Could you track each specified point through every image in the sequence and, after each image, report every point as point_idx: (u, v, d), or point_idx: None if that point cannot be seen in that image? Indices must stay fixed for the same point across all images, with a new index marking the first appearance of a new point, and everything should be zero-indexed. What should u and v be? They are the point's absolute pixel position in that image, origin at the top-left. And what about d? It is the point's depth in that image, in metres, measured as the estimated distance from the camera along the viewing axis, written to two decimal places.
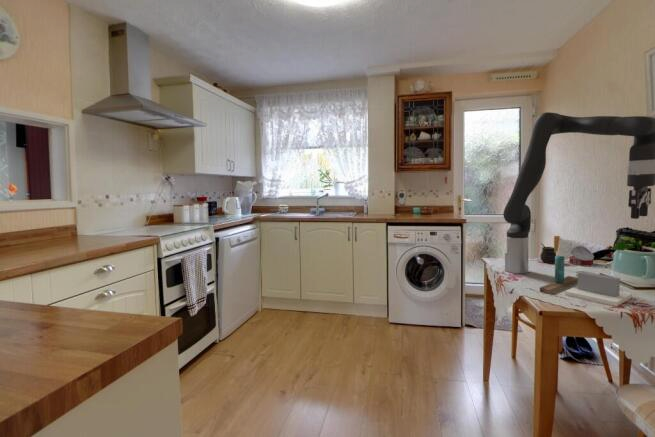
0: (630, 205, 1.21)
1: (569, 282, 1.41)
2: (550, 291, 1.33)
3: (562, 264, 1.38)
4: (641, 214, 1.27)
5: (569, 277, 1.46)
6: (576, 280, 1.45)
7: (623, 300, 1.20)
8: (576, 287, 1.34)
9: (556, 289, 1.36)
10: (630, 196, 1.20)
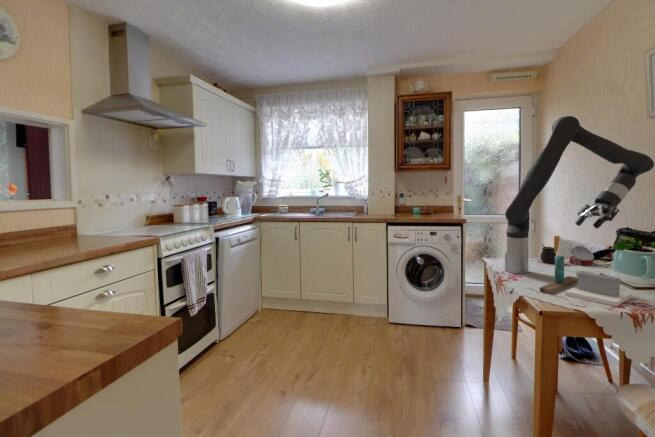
0: (608, 216, 1.32)
1: (569, 282, 1.41)
2: (550, 291, 1.33)
3: (562, 264, 1.38)
4: (578, 222, 1.43)
5: (569, 277, 1.46)
6: (576, 280, 1.45)
7: (623, 300, 1.20)
8: (576, 287, 1.34)
9: (556, 289, 1.36)
10: (613, 210, 1.32)
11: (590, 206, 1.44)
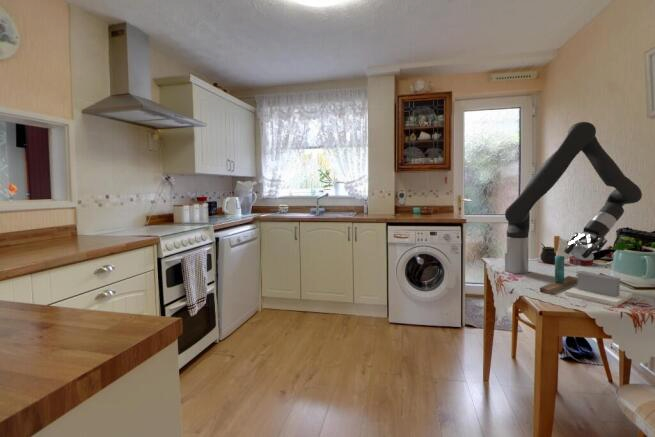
0: (596, 247, 1.33)
1: (569, 282, 1.41)
2: (550, 291, 1.33)
3: (562, 264, 1.38)
4: (567, 251, 1.44)
5: (569, 277, 1.46)
6: (576, 280, 1.45)
7: (623, 300, 1.20)
8: (576, 287, 1.34)
9: (556, 289, 1.36)
10: (601, 241, 1.33)
11: (579, 234, 1.45)
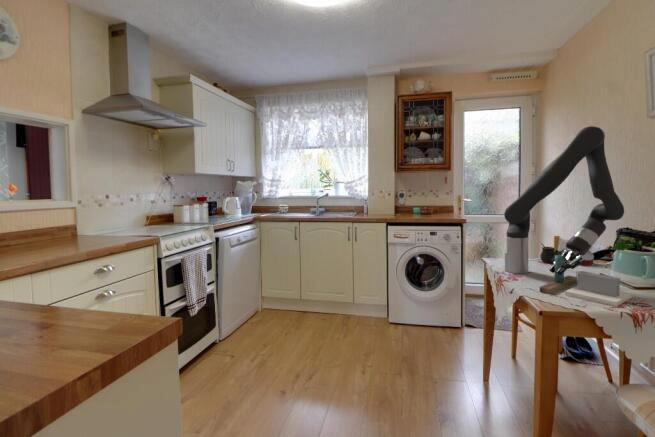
0: (570, 265, 1.35)
1: (569, 281, 1.41)
2: (550, 290, 1.33)
3: (562, 263, 1.38)
4: (552, 269, 1.41)
5: (569, 276, 1.46)
6: (576, 279, 1.45)
7: (623, 300, 1.20)
8: (576, 287, 1.34)
9: (556, 288, 1.36)
10: (577, 260, 1.34)
11: (560, 251, 1.44)
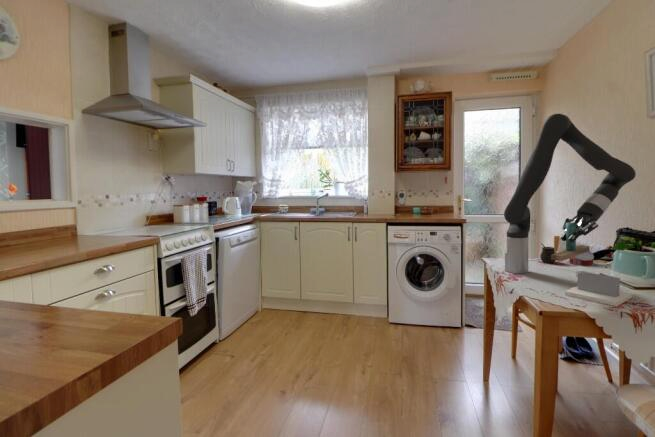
0: (582, 231, 1.30)
1: (581, 250, 1.36)
2: (562, 258, 1.28)
3: (573, 230, 1.33)
4: (563, 238, 1.36)
5: (580, 246, 1.41)
6: (588, 248, 1.39)
7: (623, 300, 1.20)
8: (576, 287, 1.34)
9: (568, 256, 1.30)
10: (590, 226, 1.29)
11: (571, 219, 1.39)
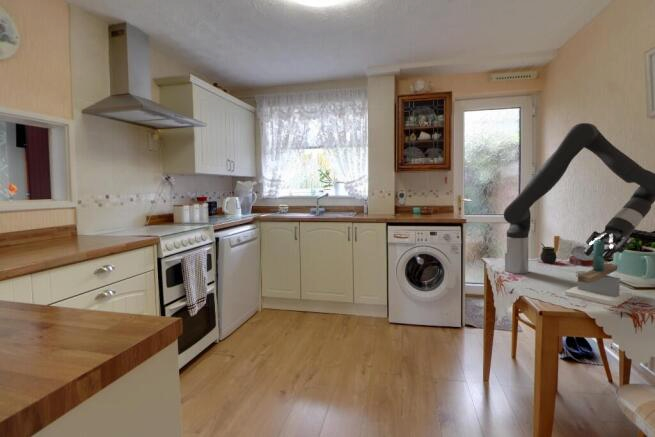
0: (619, 248, 1.19)
1: (609, 270, 1.28)
2: (591, 279, 1.19)
3: (602, 249, 1.24)
4: (587, 252, 1.29)
5: (607, 264, 1.32)
6: (616, 267, 1.31)
7: (623, 300, 1.20)
8: (576, 287, 1.34)
9: (596, 277, 1.22)
10: (625, 241, 1.19)
11: (599, 233, 1.31)
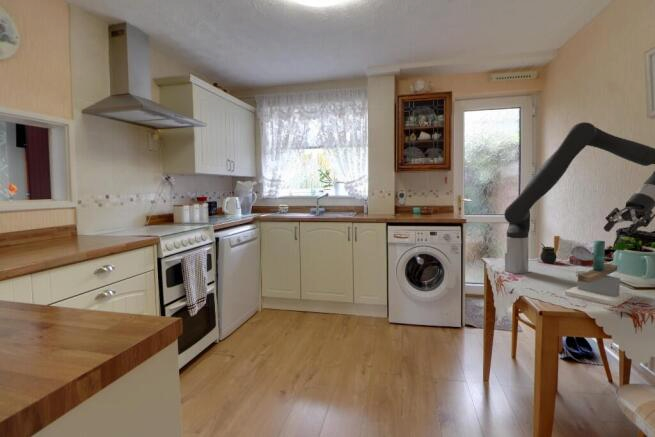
0: (644, 222, 1.19)
1: (609, 270, 1.28)
2: (591, 279, 1.19)
3: (602, 249, 1.24)
4: (607, 228, 1.30)
5: (607, 265, 1.32)
6: (616, 268, 1.31)
7: (623, 300, 1.20)
8: (576, 287, 1.34)
9: (596, 277, 1.22)
10: (649, 215, 1.19)
11: (620, 210, 1.30)
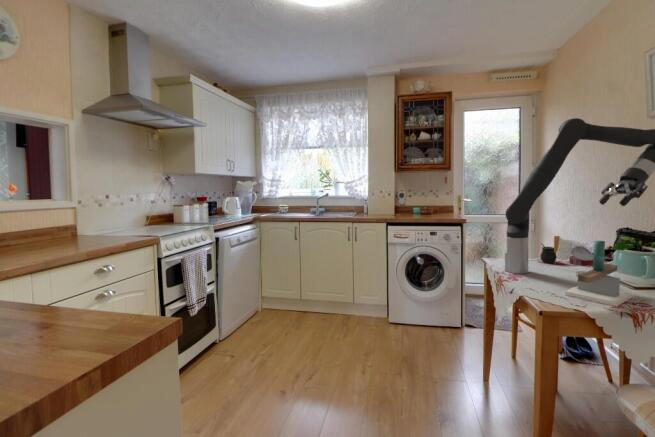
0: (636, 193, 1.26)
1: (609, 270, 1.28)
2: (591, 279, 1.19)
3: (602, 249, 1.24)
4: (602, 201, 1.37)
5: (607, 265, 1.32)
6: (616, 268, 1.31)
7: (623, 300, 1.20)
8: (576, 287, 1.34)
9: (596, 277, 1.22)
10: (641, 187, 1.26)
11: (615, 184, 1.38)
